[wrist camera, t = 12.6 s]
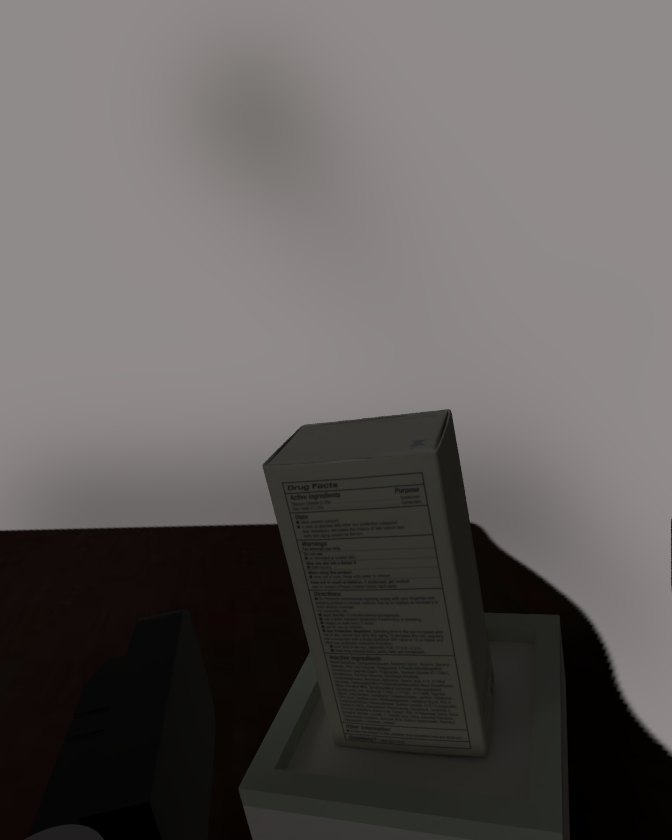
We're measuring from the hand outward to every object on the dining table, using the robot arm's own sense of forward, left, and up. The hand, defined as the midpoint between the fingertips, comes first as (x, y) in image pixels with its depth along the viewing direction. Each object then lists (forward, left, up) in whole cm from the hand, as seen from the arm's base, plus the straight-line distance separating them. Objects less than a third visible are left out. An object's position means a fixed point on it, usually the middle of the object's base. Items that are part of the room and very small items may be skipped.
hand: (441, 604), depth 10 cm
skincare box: (-5, +11, -13) cm, 18 cm away
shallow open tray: (-4, +12, -16) cm, 20 cm away
